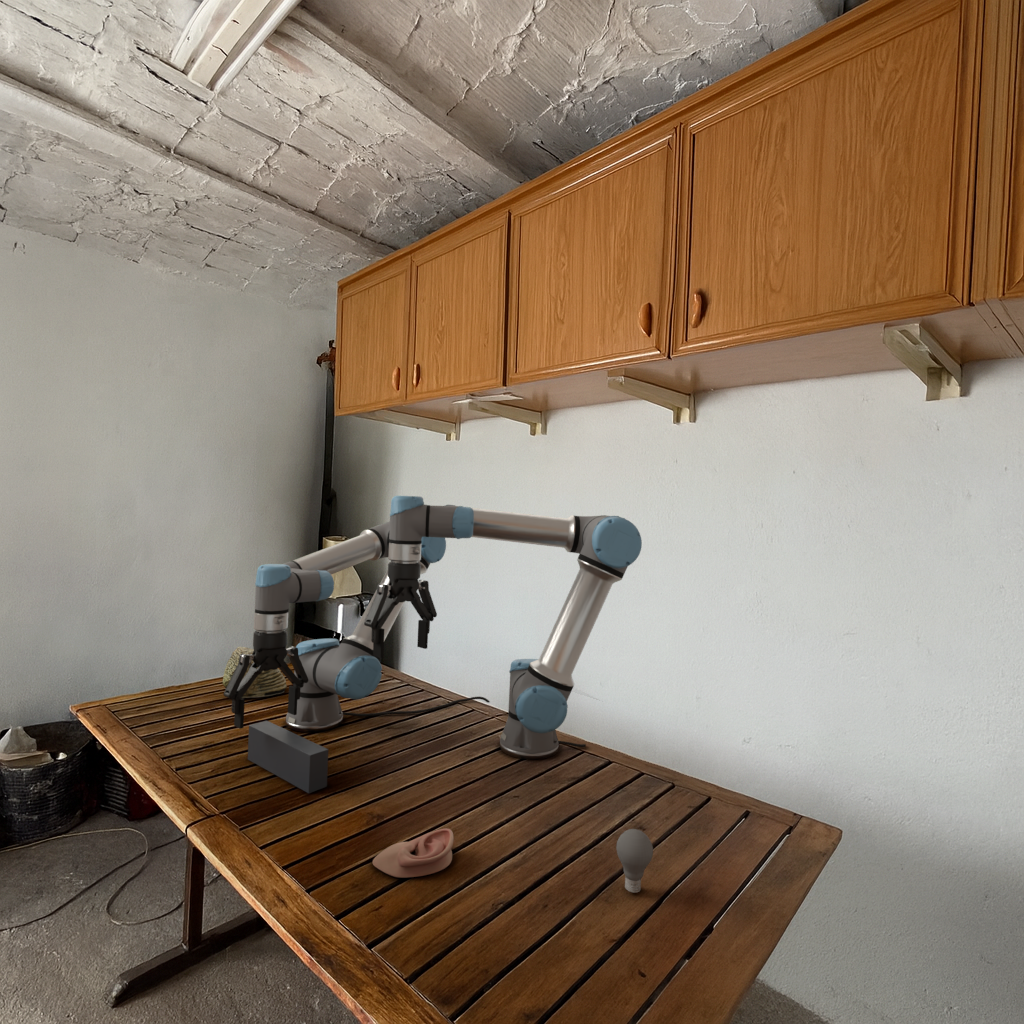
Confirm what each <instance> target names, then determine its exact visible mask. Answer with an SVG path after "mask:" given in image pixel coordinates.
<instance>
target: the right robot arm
mask: <svg viewBox="0 0 1024 1024" xmlns="http://www.w3.org/2000/svg"><path fill="white" fill-rule="evenodd" d="M390 500H391V501H390V513H389V522H390V532H389V539H390V540H389V555H388V557H387V558H388V560H389V562H388V564H387V570H388V577H389V580H390V581H389V584H388V585H385V584H380V583H378V584H377V586H376V590H377V593H376V596H375V598H374V601H373V603H372V605H371V608H370V610H369V613H368V615H367V617H366V620H365V622H364V625H365V626H368V627H371V628H372V637H371V641H372V643H373V656H374V657H378V658H381V659H383V658H384V649H385V641H384V629H382V628H381V627H382V626H383V624H384V623H385V621H386V620H387V618H388V616H389V615H390V613H391V612H392V610H393V609H394V607H395V606H396V605H397V604H398V603H399V602H404V603H405V602H410V604H411V605H412V607H413V608H414V610H415V611H416V613H417V615H419V618H420V619H418V621H417V623H418V625H417V646H416V647H417V648H420V649H424V650H427V649H428V643H429V641H428V640H429V634H430V630H431V629H430V628H431V622H433V621H434V619H435V618H437V617H438V612H437V610H436V607H435V603H434V601H433V598H432V595H431V592H430V588H429V587H430V585H429V580H424V579H420V578H421V574H420V571H421V564H420V563H418V561H420V560H421V543H422V537H440V538H445V539H457V540H461V539H471V538H476V539H484V540H494V541H503V542H511V543H519V544H528V545H537V546H546V547H553V548H555V547H556V548H562V549H563V548H564V549H565V551H566V552H567V553H573V554H579V555H578V556H577V559H576V561H577V563H578V564H577V565H578V566H579V570H578V572H577V574H576V577H575V579H574V581H573V583H572V584H571V588H570V589H569V592H568V594H567V596H566V599H565V600H564V603H563V605H562V607H561V610H560V612H559V614H558V616H557V618H556V621H555V622H554V625H553V627H552V629H551V631H550V634H549V636H548V638H547V641H546V643H545V645H544V647H543V649H542V652H541V654H540V656H539V658H517V659H514V660H512V661H511V663H510V667H509V668H510V669H509V689H508V710H507V711H508V712H507V720H506V722H505V724H504V728H503V730H502V732H501V735H500V739H499V748H500V750H501V751H502V752H503V753H505V755H508V756H511V757H514V758H517V759H523V760H542V759H547V758H551V757H553V756H555V755H556V754H557V753H558V752H559V746H560V745H566V746H571V747H572V746H573V747H576V748H586V747H587V744H586V743H576V742H570V741H564V740H559V738H558V734H557V731H556V730H557V729H558V728H560V727H561V725H563V723H564V722H565V720H566V718H567V714H568V708H569V707H568V705H569V704H568V700H569V699H570V695H571V693H572V691H573V688H574V687H575V681H574V678H573V673H574V671H575V669H576V666H577V664H578V662H579V660H580V657H581V655H582V653H583V651H584V649H585V647H586V644H587V642H588V639H589V638H590V636H591V633H592V631H593V629H594V626H595V624H596V622H597V620H598V618H599V615H600V613H601V611H602V608H603V606H604V604H605V602H606V599H607V597H608V595H609V593H610V591H611V589H612V586H613V585H614V584H615V583H618V582H620V581H622V580H623V578H624V575H625V574H626V571H627V569H628V567H629V566H630V565H632V564H634V563H635V562H636V561H637V559H638V557H639V556H640V554H641V551H642V547H643V546H642V545H643V544H642V543H643V542H642V535H641V533H640V531H639V529H638V527H637V526H636V525H635V524H634V523H632V522H631V521H630V520H628V519H627V518H625V517H621V516H619V515H602V514H601V515H590V516H589V515H587V516H586V515H585V516H584V515H582V516H581V515H573V514H571V515H570V516H569V517H567V518H565V517H558V516H557V517H555V516H547V515H539V514H528V513H522V512H513V511H503V510H502V511H501V510H494V509H487V508H476V507H470V506H463V505H454V504H446V505H430V504H425V502H424V498H423V497H422V496H420V495H419V496H418V495H417V496H416V495H415V496H414V495H394V496H393V497H392V498H391V499H390ZM389 592H390V593H389ZM388 593H389V594H388ZM387 595H388V596H387ZM392 598H393V599H392Z"/></svg>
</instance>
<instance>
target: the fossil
mask: <svg viewBox="0 0 1024 1024" xmlns="http://www.w3.org/2000/svg"><path fill="white" fill-rule="evenodd" d="M253 651H254V648H251V647H247V646H246V647H245V646H238V647H237V648H236V649H235V650H233V651H232V653H231V656H230V657H229V659H228V660H227V663H226V666H225V668H224V671H223V675H222V676H223V677H222V685H223V687H224V688H225V689H226V688H227V685H228V683H229V681H230V679H231V677H232V675H233V673H234V671H235V669H236V667H237V665H238V662H239V656H240V654H242V653H243V654H246V655H250V654H252V653H253ZM253 663H254V662H253V660H251V663H250V664H249V665H248V668H247V670H246V673H245V675H246V674H247V673H248V671H249V668H250V667H251V665H252V664H253ZM257 668H258V667H257ZM257 668H256V669H257ZM245 675H244V677H245ZM244 677H243V678H244ZM285 677H286V676H285V675H284V674H283V672H282V671H281V670H280V669H279V668H277V669H275V670H272V669H271V670H269V671H262V673H261V674H259V675H258V676H257V677H256V679H255V680H254V682H253V683H252V684H251V686H250V687H249V688H248V690H247V691H246V692H245V694H244V695H243V696H242V698H243V699H250V698H264V697H271V696H275V695H281V694H284V693H285V691H286V689H287V687H288V686H287V680H286V678H285Z"/></svg>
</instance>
